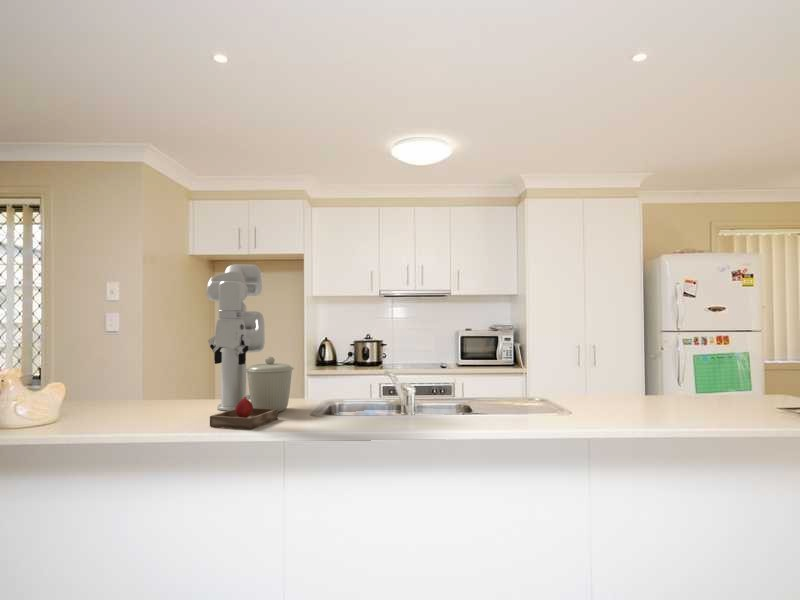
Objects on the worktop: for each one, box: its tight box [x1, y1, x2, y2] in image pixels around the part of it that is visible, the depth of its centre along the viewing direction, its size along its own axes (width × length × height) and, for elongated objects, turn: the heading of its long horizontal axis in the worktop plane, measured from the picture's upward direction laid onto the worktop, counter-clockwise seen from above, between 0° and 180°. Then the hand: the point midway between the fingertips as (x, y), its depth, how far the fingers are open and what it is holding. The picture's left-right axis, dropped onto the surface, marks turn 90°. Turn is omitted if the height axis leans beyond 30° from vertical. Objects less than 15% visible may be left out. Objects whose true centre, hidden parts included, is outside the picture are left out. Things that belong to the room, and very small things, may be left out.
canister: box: [246, 356, 295, 413], centre depth 179 cm, size 18×18×21 cm
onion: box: [235, 396, 253, 418], centre depth 159 cm, size 6×6×8 cm
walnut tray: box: [209, 408, 279, 430], centre depth 159 cm, size 16×16×4 cm
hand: (229, 363), depth 163 cm, fingers open, 9 cm apart
